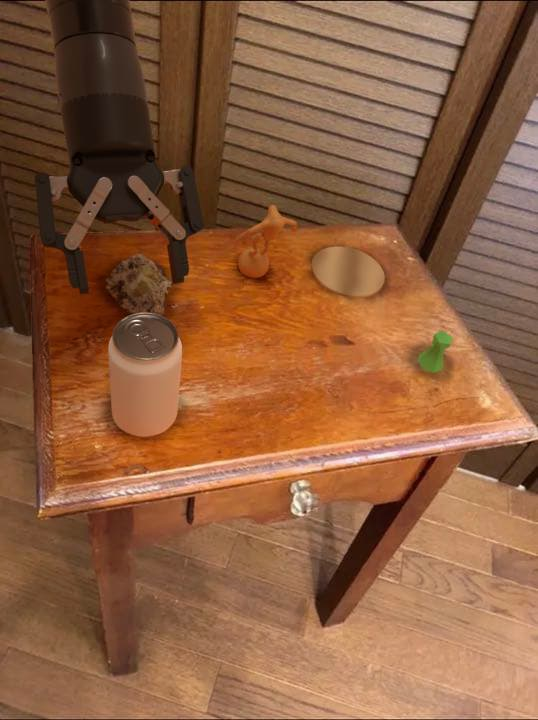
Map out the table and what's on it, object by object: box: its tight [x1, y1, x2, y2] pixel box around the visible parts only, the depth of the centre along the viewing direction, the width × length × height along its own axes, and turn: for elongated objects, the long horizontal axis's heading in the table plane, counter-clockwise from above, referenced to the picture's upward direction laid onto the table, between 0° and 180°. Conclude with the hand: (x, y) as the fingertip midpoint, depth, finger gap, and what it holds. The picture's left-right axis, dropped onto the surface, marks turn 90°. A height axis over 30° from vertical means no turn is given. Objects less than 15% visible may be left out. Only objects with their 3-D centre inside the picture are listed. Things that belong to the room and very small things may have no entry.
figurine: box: [232, 204, 298, 279], centre depth 72 cm, size 8×6×12 cm
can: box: [107, 312, 183, 438], centre depth 55 cm, size 6×6×12 cm
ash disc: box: [310, 245, 386, 299], centre depth 79 cm, size 10×10×2 cm
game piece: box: [417, 330, 453, 374], centre depth 68 cm, size 4×4×6 cm
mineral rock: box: [105, 253, 174, 316], centre depth 70 cm, size 11×4×8 cm
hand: (133, 288), depth 54 cm, fingers open, 8 cm apart
